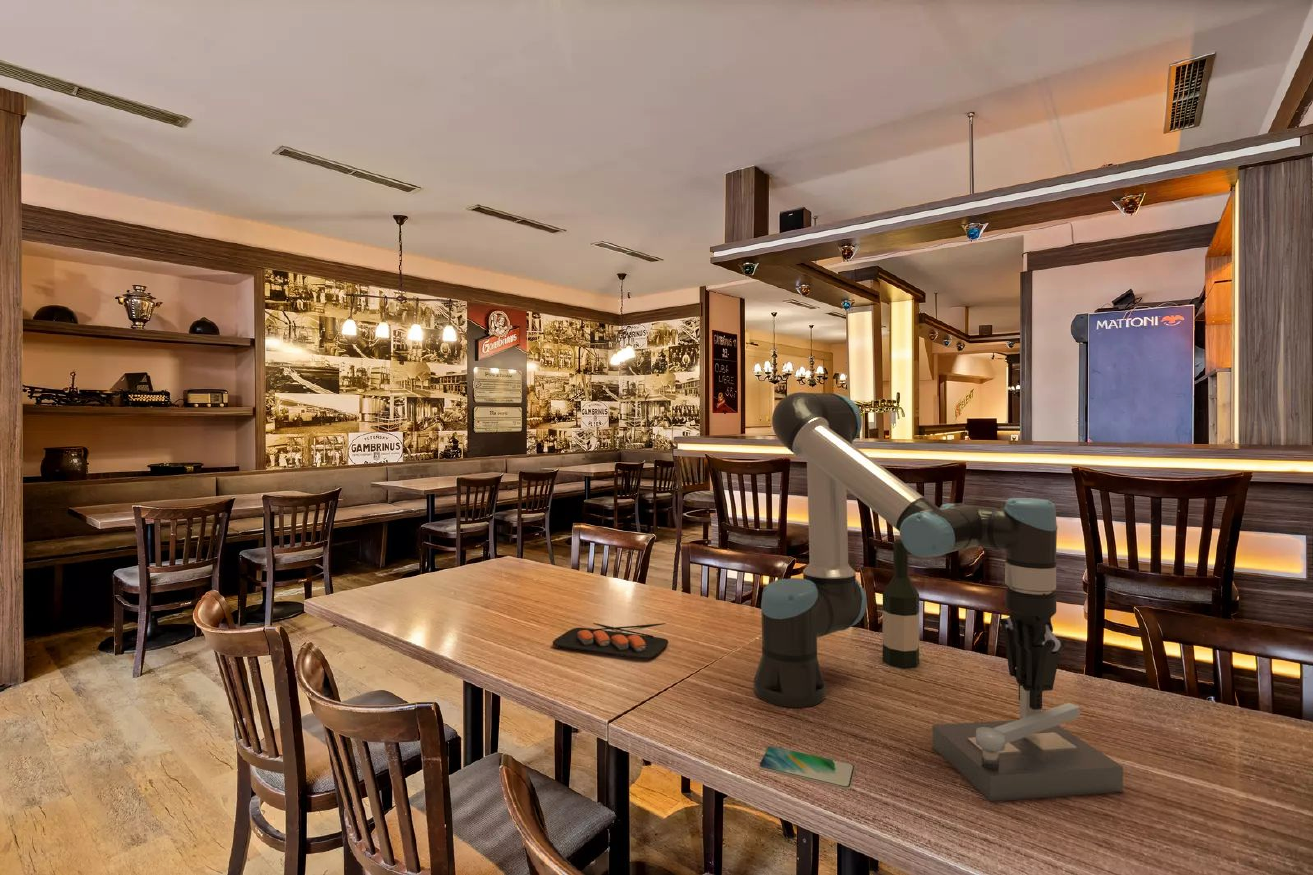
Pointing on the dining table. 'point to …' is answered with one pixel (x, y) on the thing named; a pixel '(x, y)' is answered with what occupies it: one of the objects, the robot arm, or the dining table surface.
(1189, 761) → the dining table surface
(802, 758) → the smartphone
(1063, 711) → the lever
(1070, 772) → the grey base block
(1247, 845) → the dining table surface
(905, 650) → the wine bottle
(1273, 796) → the dining table surface
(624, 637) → the sushi plate
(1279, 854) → the dining table surface
